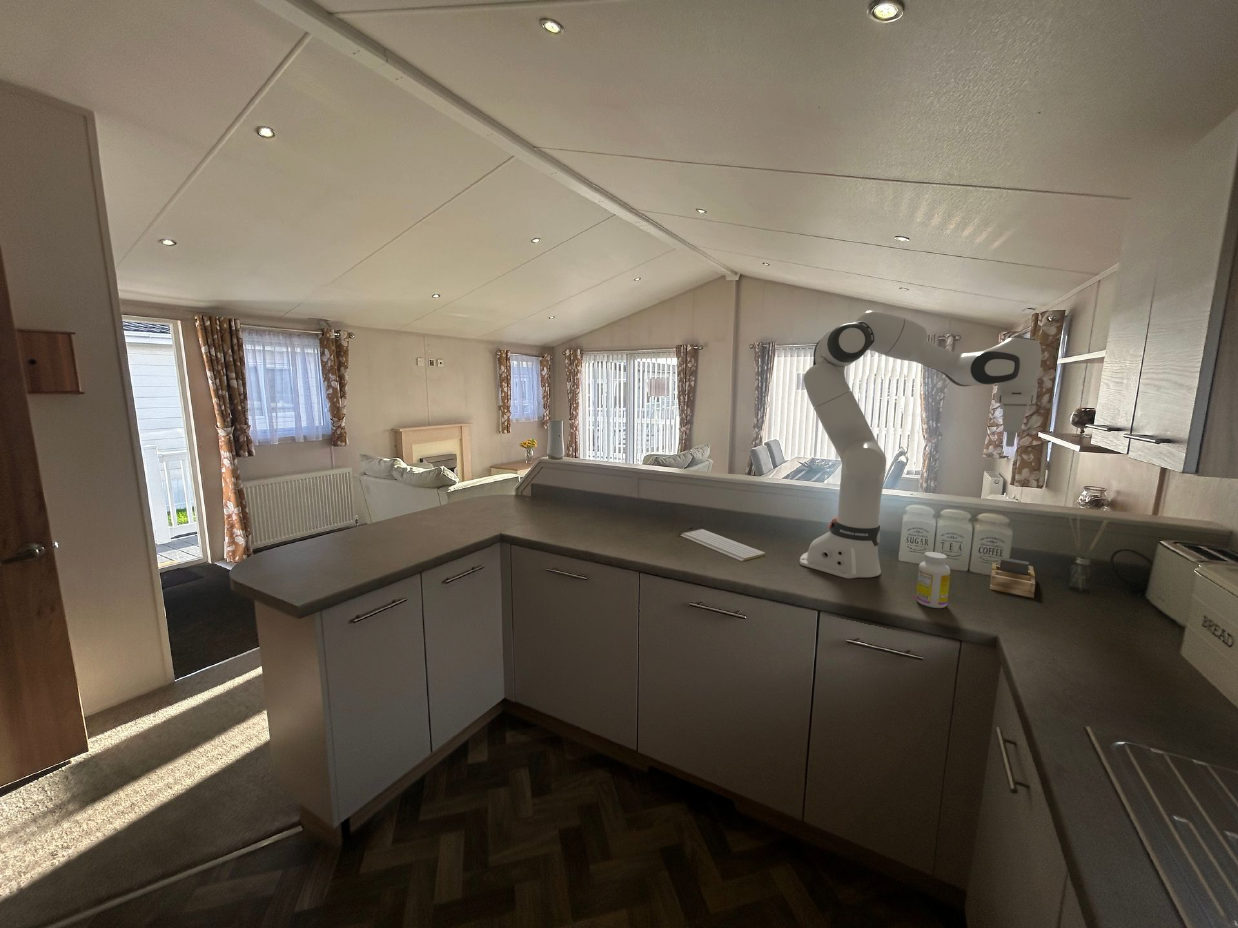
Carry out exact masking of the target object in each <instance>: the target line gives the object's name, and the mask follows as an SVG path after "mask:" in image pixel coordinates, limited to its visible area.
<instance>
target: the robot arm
mask: <svg viewBox="0 0 1238 928" xmlns="http://www.w3.org/2000/svg"><path fill="white" fill-rule="evenodd" d="M928 339H929V337H928V332H927V330H926V328H925V327H924V326H923V325H921V324H919V323H917V322H916V321H915V320H912V319H909V318H906V317H904V316H900V315H897V314H894V313H893V314H892V313H889V312H884V311H880V310H879V311H878V310H867V311H864V312H863V313H862V314H860V315H859V316H858V317H857V319H855V321H854V322H851V323H848V322H847V323H844V324H841V325H839V326H837V327H836V328H834V329H832V330H830V331H828V332H827V333H826V334H825V335H823V337H821V339H819V340H818V341H817V343H816V344H815V347H814V350H813V359H812V360H813V361H812V363H813V364H812V366H811V367H809V368H808V369H807V370H806V372H805V373H804V375H803V384H804V387H805V390H806V393H807V397H808V399H809V401H810V403H811V405H812V408H813V410H814V411H815V413H816V416H817V417H818V419H819V421H820V423H821V426H822V427H823V429H824V431H825V433H826V434H827V436H828V438H829V440H830V442H831V444H832V446H833V447H834V450H835V451H836V453H837V455H838V458H839V459H840V462H841V469H840V470H841V472H840V482H839V494H838V504H837V505H838V507H837V517H834V518H832V519H831V521H830V523H829V524H828V525H829V526H828V529H829V531H828V532H826V533H824V534H822V535H820V536H818V537H817V538H815V539H814V540H813V541H811V543H810V545H809V547H808V550H807V552H805V553H803V554H802V555H801V556H800V558H799V565H800V566H804V567H807V568H810V569H814V570H817V571H821V572H824V573H827V574H831V575H834V576H837V577H840V578H844V579H856V578H874V577H878V576H880V575H881V574H882V570H881V566H880V558H879V547H878V546H879V543H880V539H881V525H880V524H879V523H880V513H881V512H880V511H881V504H882V503H881V502H882V501H881V500H882V496H883V495H882V494H883V489H884V484H885V483H884V481H885V477H886V476H885V475H886V469H887V468H886V467H887V457H886V454H885V451H883V449H882V448H881V446H880V445H879V443H878V441H877V439H876V437H875V435H874V433H873V431H872V429H871V427H870V425H869V423H868V421H867V418H866V417H865V414H864V413H863V411H862V409H861V407H860V405H859V403H858V401H857V398H856V397H855V395H854V393H853V391H852V390H851V387H850V385H849V383H848V381H846V377H845V368H846V367H848V366H850V365H851V364H853V363H855V362H856V361H858V360H859V359H861V358H862V357H863V356H864V355H865V354H866V352H867V351H870V352H871V351H872V352H875V353H877V354H880V355H882V356H886V357H889V358H893V359H896V360H901V361H908V362H913V363H917V364H920V365H922V366H925V367H928V368H930V369H932V370H934V371H938V372H939V373H941V374H942V375H944V376H945V377H946V378H947V379H948V380H949V381H950V382H951V383H952V384H954V385H956V386H959V387H970V386H972V387H973V386H992V385H995V384H997V386H996V393H995V394H996V395H995V401H994V402H995V404H999V405H1000V407H999V409H1001V410H1002V427H1003V432H1004V433H1006V437H1005V438H1006V439H1005V446H1006V447H1007V448H1008V447H1010V448H1013V447H1014V446H1015V439H1016V437H1017V436H1016V435H1017V434H1018V433H1021V431H1022V428H1023V426H1024V422H1025V418H1026V414H1027V411H1028V410H1029V409H1030V406H1031V405H1035V404H1036V403H1037V396H1038V387H1039V384H1038V375H1039V373H1040V372H1041V365H1042V363H1041V362H1042V346H1041V343H1040V342H1039V341H1038V340H1036V339H1034V338H1030V337H1024V336H1023V337H1019V336H1018V337H1017V336H1016V337H1009V338H1006V339H1005V340H1004V341H1003V342H1001V343H999V344H996V345H995V346H993V347H990V348H987V349H985V350H981V351H972V352H970V351H968V352H967V351H966V352H964V351H963V352H954V351H951V350H948V349H946V348H943V347H941V346H938V345H936V344H933V343H931V342H930V341H929V340H928Z"/></svg>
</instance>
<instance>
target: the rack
mask: <svg viewBox="0 0 1238 928" xmlns="http://www.w3.org/2000/svg"><path fill="white" fill-rule="evenodd" d="M999 568H1000V566H998V565H996V563H993V562H992V566H991V574H990V586H989V589H990V590H991V591H992V590H993V591H997V592H1002V593H1007V594H1013V595H1016V596H1017V595H1018V596H1022V597H1027V598H1031V599H1032V598H1033V599H1034V597H1035V589H1036V580H1035V577H1036V575H1035V571H1034V566H1033V565H1029V568H1028V575H1027V576H1026V575H1021V574H1015V573H1010V572H1004V571H999Z"/></svg>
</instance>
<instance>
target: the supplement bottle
mask: <svg viewBox="0 0 1238 928" xmlns="http://www.w3.org/2000/svg"><path fill="white" fill-rule="evenodd" d="M923 558H924V561H921V563H919V565H918V574H917V585H916V595H915V596H916V597H915V599H916V601H917V602H918V603H919V604H920V605H923V606H924V607H928V608H934V609H942V608H943V609H944V608H946V607H947V606H948V598H949V591H950V580H951V579H950V578H951V569H950V567H949V566H948V565H946V563H947V561H948V557H947V555H946V554H944V553H942V552H936V551H926V552H924V556H923Z"/></svg>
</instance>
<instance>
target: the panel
mask: <svg viewBox="0 0 1238 928" xmlns="http://www.w3.org/2000/svg"><path fill="white" fill-rule="evenodd" d="M999 561H1000V568H999V571H1004V572H1010V573H1015V574H1021V575H1026V576H1027V575H1028V568H1029V566H1030V562H1029V561H1025V560H1019V559H1013V558H1006V557H1003V556H1002V557H1000V560H999Z"/></svg>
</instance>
